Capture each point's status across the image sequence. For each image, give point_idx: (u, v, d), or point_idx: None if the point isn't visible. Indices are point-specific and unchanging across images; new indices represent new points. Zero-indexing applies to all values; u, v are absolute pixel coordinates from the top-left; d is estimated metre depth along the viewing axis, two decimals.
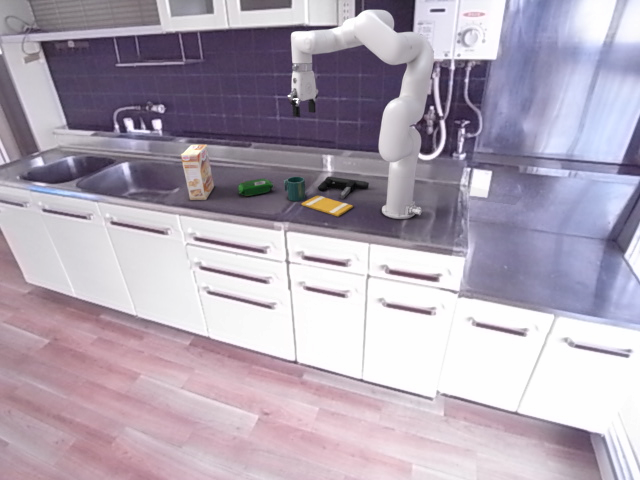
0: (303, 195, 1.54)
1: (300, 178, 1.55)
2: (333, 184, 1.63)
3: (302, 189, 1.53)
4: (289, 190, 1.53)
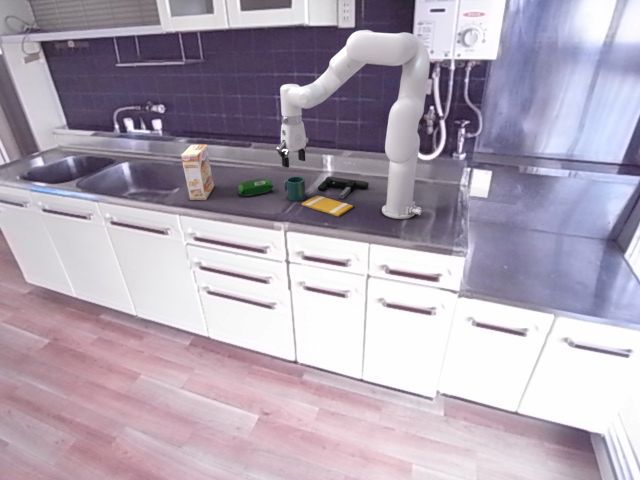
0: (303, 195, 1.54)
1: (300, 178, 1.55)
2: (333, 184, 1.63)
3: (302, 189, 1.53)
4: (289, 190, 1.53)
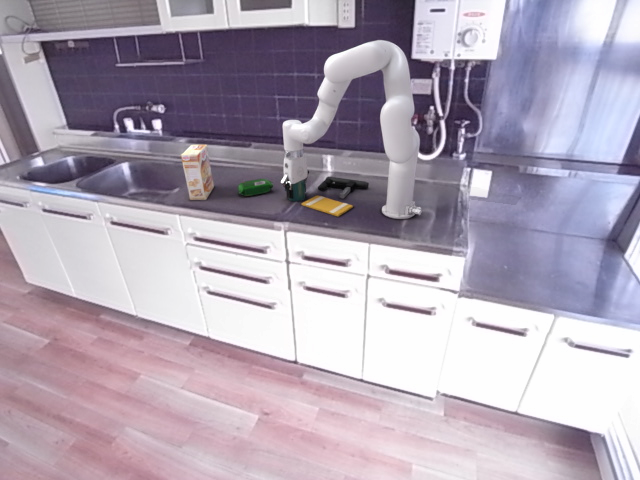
0: (303, 195, 1.54)
1: None
2: (333, 184, 1.63)
3: (302, 189, 1.53)
4: None
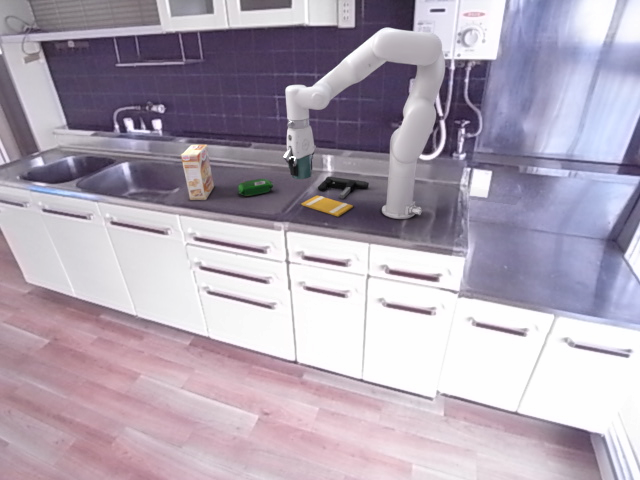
0: (309, 172, 1.37)
1: None
2: (333, 184, 1.63)
3: (308, 165, 1.35)
4: None
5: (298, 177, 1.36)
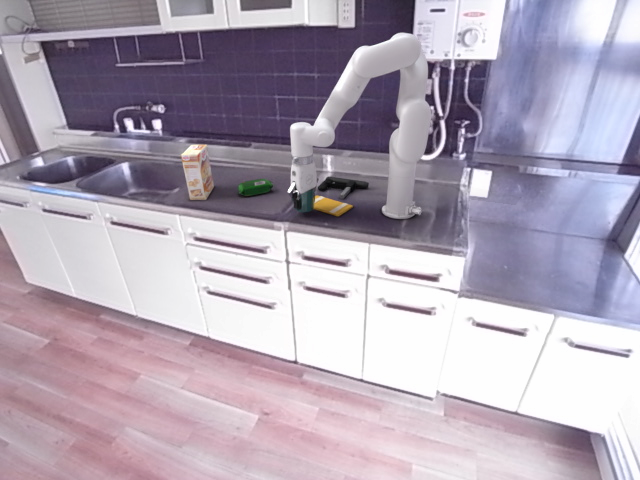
0: (312, 205, 1.39)
1: None
2: (333, 184, 1.63)
3: (311, 199, 1.38)
4: None
5: (301, 210, 1.39)
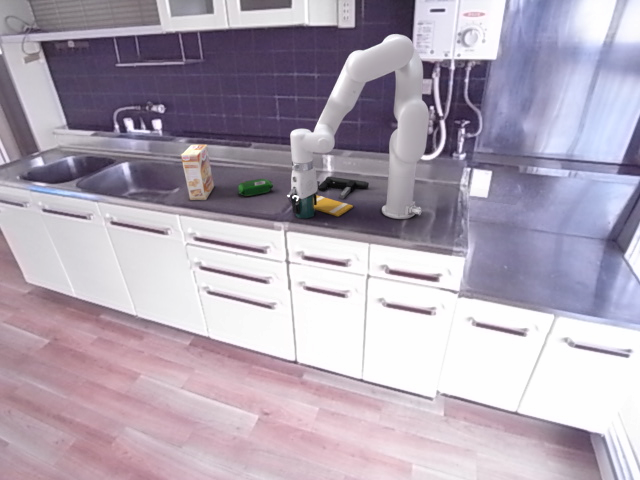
0: (312, 212, 1.41)
1: None
2: (333, 184, 1.63)
3: (311, 205, 1.39)
4: None
5: (302, 216, 1.40)
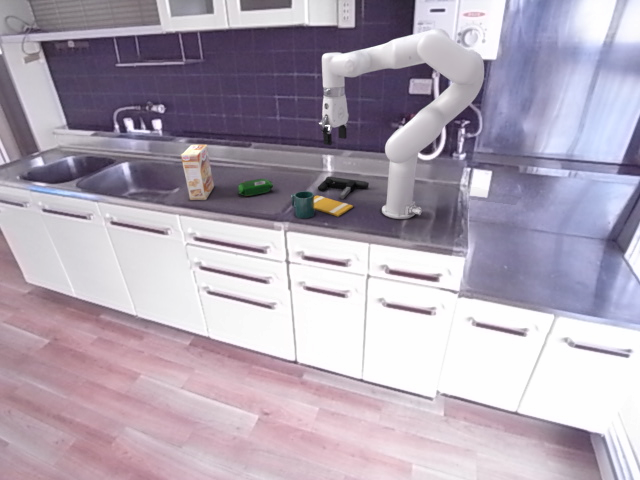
0: (312, 212, 1.41)
1: (309, 193, 1.42)
2: (333, 184, 1.63)
3: (311, 205, 1.39)
4: (297, 206, 1.39)
5: (302, 216, 1.40)
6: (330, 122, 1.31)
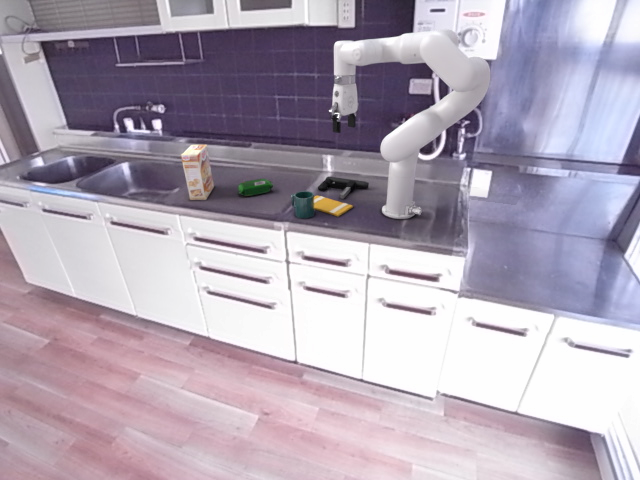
0: (312, 212, 1.41)
1: (309, 193, 1.42)
2: (333, 184, 1.63)
3: (311, 205, 1.39)
4: (297, 206, 1.39)
5: (302, 216, 1.40)
6: (340, 110, 1.32)
